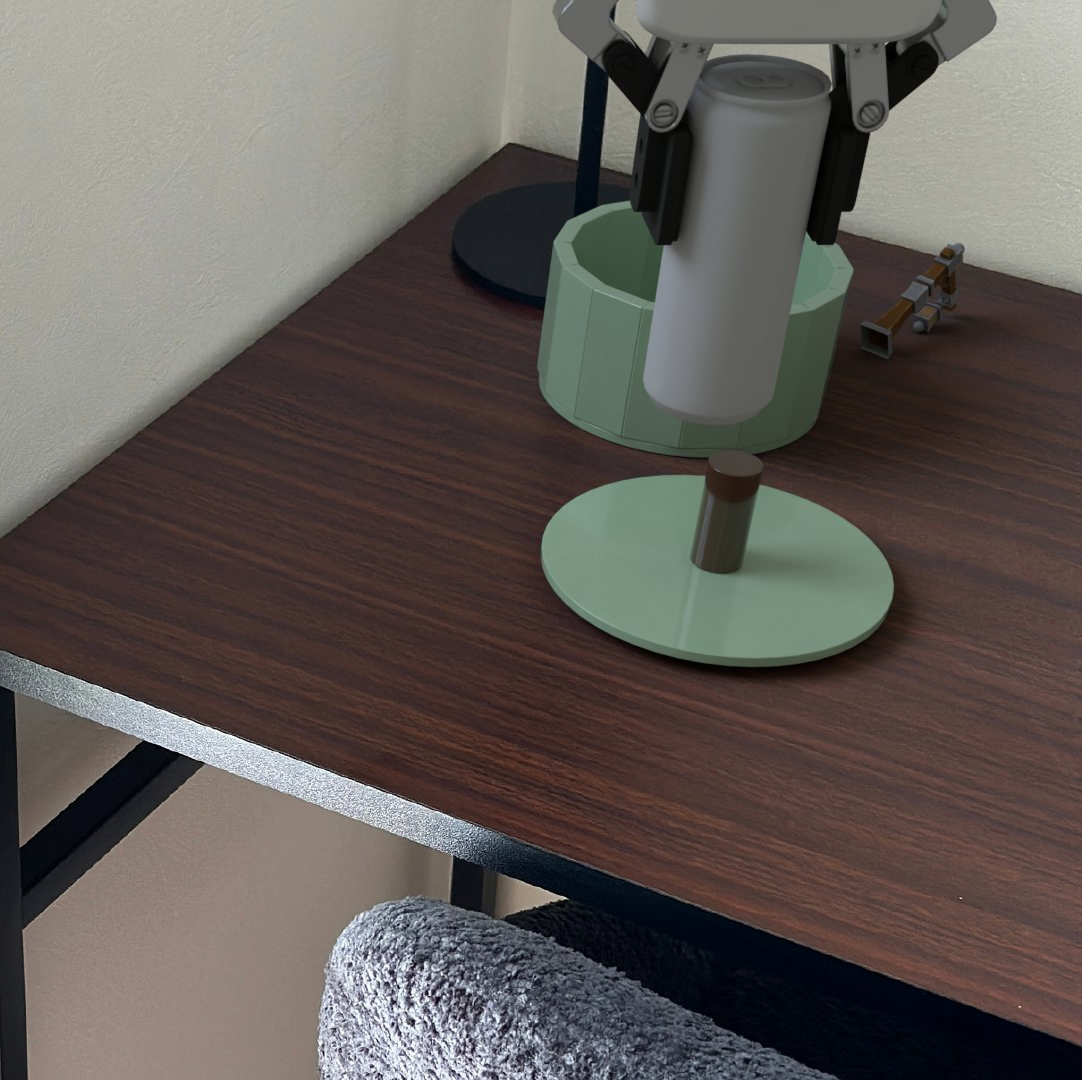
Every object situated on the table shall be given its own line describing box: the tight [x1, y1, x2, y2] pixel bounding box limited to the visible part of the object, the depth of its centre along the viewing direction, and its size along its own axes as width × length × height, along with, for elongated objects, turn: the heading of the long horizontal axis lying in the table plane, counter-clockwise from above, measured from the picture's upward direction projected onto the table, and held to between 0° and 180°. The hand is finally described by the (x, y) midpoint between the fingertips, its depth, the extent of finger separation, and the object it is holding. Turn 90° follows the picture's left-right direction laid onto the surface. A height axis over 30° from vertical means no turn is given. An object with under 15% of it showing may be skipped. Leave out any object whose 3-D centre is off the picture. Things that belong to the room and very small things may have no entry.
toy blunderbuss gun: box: [859, 242, 966, 360], centre depth 117 cm, size 2×8×4 cm, turn 133°
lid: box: [539, 450, 895, 668], centre depth 95 cm, size 16×16×6 cm
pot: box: [536, 200, 855, 459], centre depth 109 cm, size 15×20×8 cm
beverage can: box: [643, 53, 832, 425], centre depth 75 cm, size 5×5×12 cm
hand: (736, 224), depth 75 cm, fingers closed on beverage can, 4 cm apart
